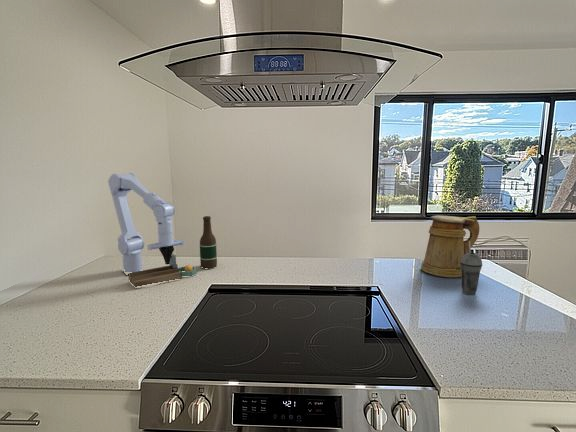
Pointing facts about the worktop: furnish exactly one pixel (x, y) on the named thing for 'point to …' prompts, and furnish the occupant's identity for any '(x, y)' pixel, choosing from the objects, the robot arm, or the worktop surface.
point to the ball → (188, 268)
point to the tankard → (448, 244)
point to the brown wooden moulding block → (154, 275)
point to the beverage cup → (470, 272)
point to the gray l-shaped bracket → (173, 262)
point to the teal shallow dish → (188, 273)
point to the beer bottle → (208, 246)
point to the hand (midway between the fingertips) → (167, 263)
